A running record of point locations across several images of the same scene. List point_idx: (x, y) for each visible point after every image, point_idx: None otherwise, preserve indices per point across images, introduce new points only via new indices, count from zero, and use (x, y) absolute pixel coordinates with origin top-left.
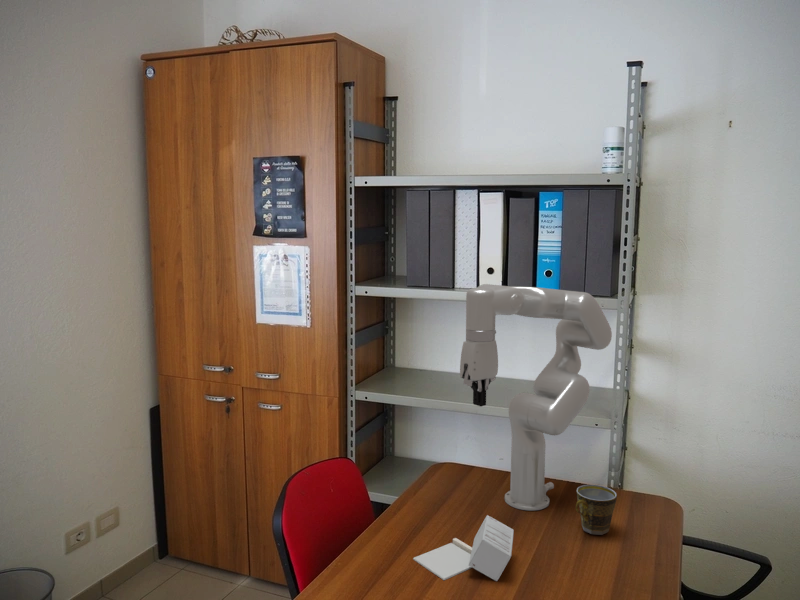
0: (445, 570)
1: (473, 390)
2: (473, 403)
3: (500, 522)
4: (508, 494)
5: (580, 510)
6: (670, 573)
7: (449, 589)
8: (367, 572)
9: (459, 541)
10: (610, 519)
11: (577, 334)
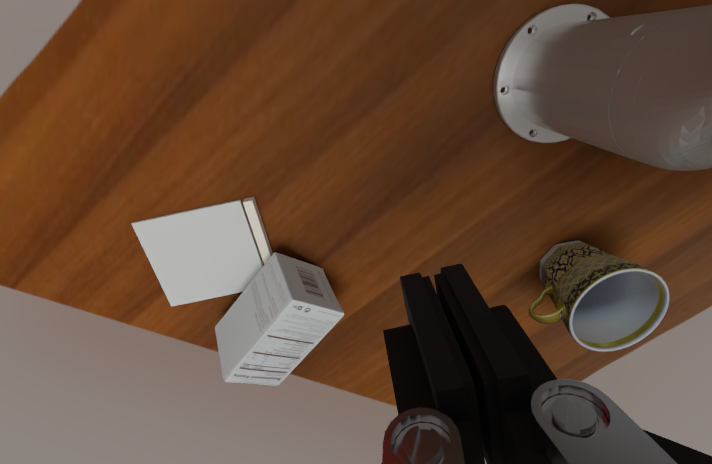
0: (184, 286)
1: (400, 433)
2: (400, 280)
3: (320, 307)
4: (535, 27)
5: (559, 277)
6: None
7: (173, 328)
8: (19, 228)
9: (253, 217)
10: (589, 305)
11: None
